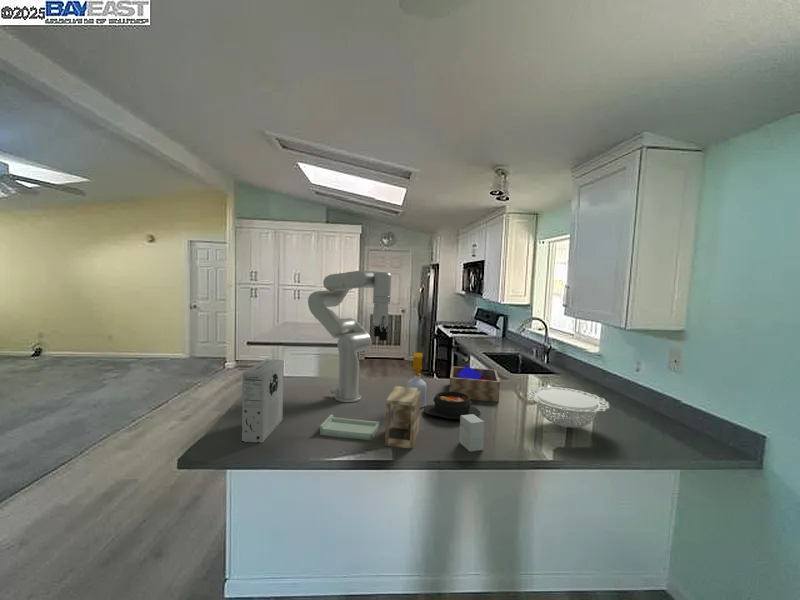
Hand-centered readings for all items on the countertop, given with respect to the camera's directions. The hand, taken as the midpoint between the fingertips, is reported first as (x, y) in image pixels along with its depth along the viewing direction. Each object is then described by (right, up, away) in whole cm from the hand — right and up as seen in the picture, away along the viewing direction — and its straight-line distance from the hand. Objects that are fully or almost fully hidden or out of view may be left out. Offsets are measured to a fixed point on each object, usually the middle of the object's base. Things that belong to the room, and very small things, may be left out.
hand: (380, 338), depth 175 cm
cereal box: (-43, -33, -25) cm, 60 cm away
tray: (-10, -34, -23) cm, 42 cm away
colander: (+78, -37, -11) cm, 86 cm away
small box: (+35, -36, -32) cm, 60 cm away
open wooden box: (+48, -32, +33) cm, 66 cm away
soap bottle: (+16, -32, +9) cm, 38 cm away
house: (+48, -32, +33) cm, 66 cm away
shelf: (+9, -35, -26) cm, 45 cm away
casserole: (+32, -34, -1) cm, 46 cm away
